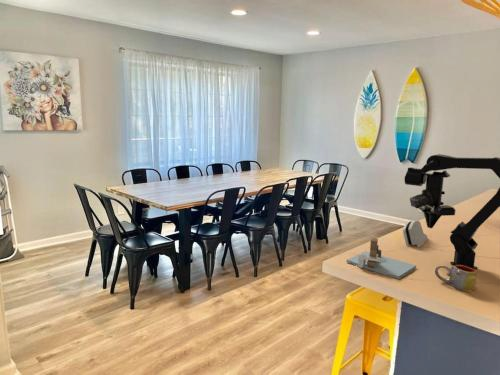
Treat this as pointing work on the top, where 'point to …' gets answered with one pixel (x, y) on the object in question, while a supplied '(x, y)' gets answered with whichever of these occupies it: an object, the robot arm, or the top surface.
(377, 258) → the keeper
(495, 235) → the top surface
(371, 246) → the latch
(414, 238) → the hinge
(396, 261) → the board
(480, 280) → the top surface
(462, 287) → the mug
